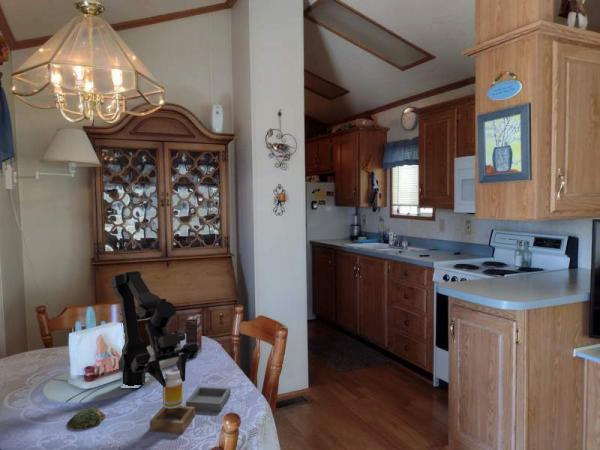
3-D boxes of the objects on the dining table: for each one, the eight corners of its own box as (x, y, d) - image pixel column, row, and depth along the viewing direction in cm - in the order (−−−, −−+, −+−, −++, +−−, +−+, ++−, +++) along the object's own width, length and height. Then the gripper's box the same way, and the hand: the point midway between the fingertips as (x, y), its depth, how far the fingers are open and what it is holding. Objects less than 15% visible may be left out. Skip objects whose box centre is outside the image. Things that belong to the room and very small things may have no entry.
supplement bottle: (186, 404, 122) (186, 371, 122) (169, 411, 118) (168, 377, 118) (176, 398, 126) (176, 366, 125) (159, 404, 122) (159, 371, 122)
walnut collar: (150, 431, 118) (150, 420, 118) (164, 414, 128) (164, 404, 127) (182, 433, 117) (182, 423, 117) (194, 416, 127) (194, 406, 126)
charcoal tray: (185, 409, 131) (185, 401, 131) (198, 393, 142) (198, 386, 142) (220, 411, 130) (220, 403, 129) (230, 395, 141) (230, 388, 140)
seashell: (92, 396, 130) (112, 406, 125) (94, 409, 131) (113, 419, 125) (59, 412, 122) (78, 423, 116) (61, 426, 122) (80, 437, 117)
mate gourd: (144, 348, 184) (144, 303, 183) (164, 355, 176) (164, 308, 175) (111, 359, 172) (110, 310, 171) (131, 367, 164) (130, 316, 162)
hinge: (149, 372, 159) (144, 345, 161) (143, 373, 162) (138, 347, 164) (187, 360, 171) (182, 335, 173) (181, 361, 174) (176, 337, 176)
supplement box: (197, 357, 174) (197, 319, 173) (185, 357, 174) (185, 319, 173) (202, 350, 183) (202, 314, 182) (191, 350, 183) (190, 313, 182)
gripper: (134, 327, 118) (149, 379, 110) (196, 316, 130) (213, 362, 122) (125, 347, 124) (138, 397, 117) (185, 334, 136) (201, 380, 129)
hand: (174, 383), depth 121 cm, fingers closed on supplement bottle, 5 cm apart
